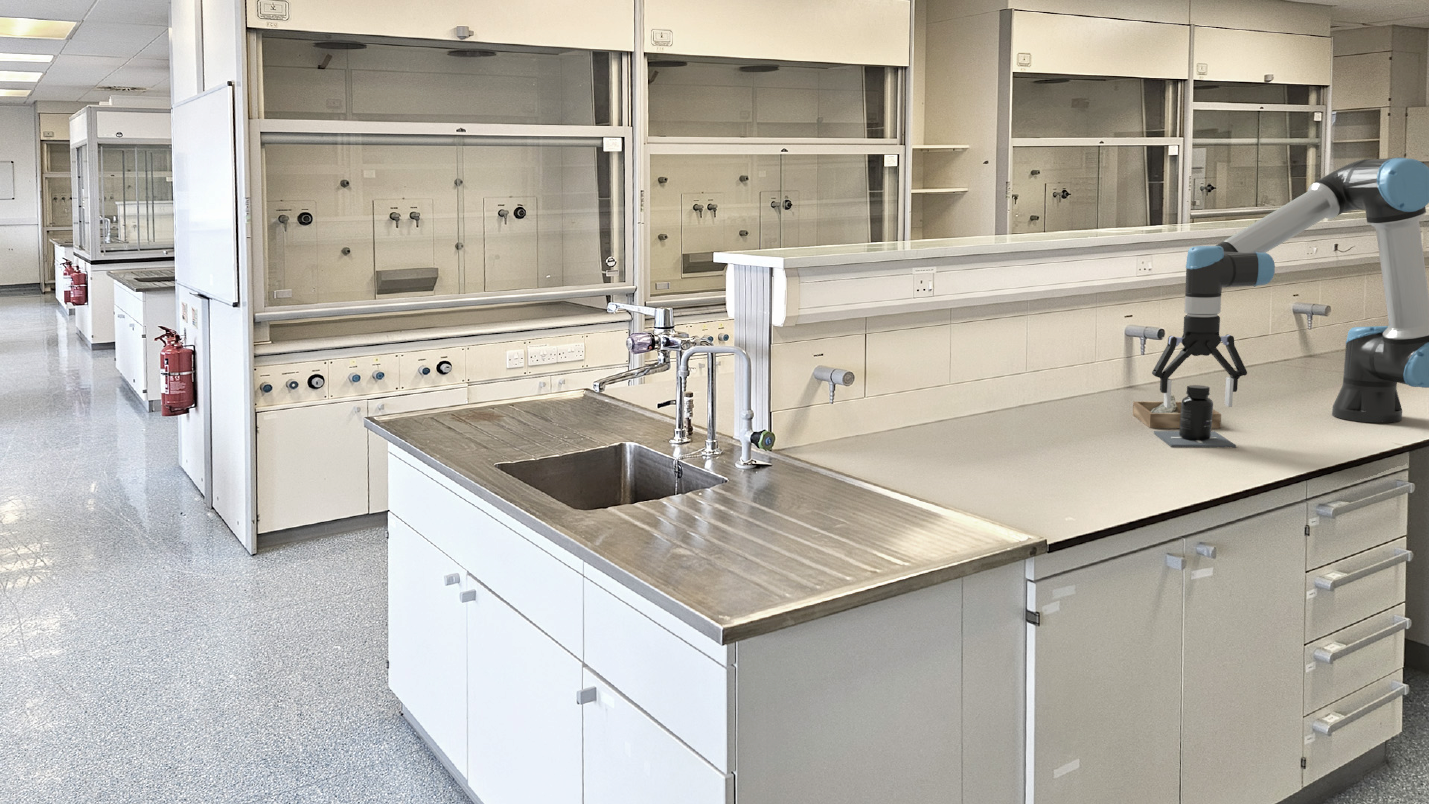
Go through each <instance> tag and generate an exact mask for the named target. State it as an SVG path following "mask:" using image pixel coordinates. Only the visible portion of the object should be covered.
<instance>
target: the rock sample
mask: <svg viewBox="0 0 1429 804" xmlns="http://www.w3.org/2000/svg"><path fill="white" fill-rule="evenodd" d="M1176 402H1177V401H1176V398H1175V395H1174V394H1171V405H1170V408H1166V407H1165V406H1164V403H1162V404H1161V405H1160V406H1158V407H1156V408H1153V409H1152V410H1151V411H1150V412H1152V413H1179V412H1178V407H1177V404H1176Z"/></svg>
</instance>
